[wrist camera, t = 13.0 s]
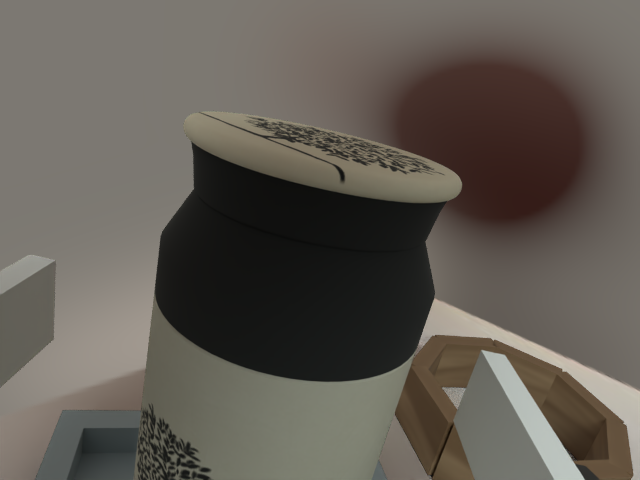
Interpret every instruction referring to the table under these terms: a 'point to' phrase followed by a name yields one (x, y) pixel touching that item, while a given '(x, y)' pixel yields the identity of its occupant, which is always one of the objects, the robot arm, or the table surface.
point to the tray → (100, 447)
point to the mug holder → (543, 385)
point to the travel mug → (286, 303)
